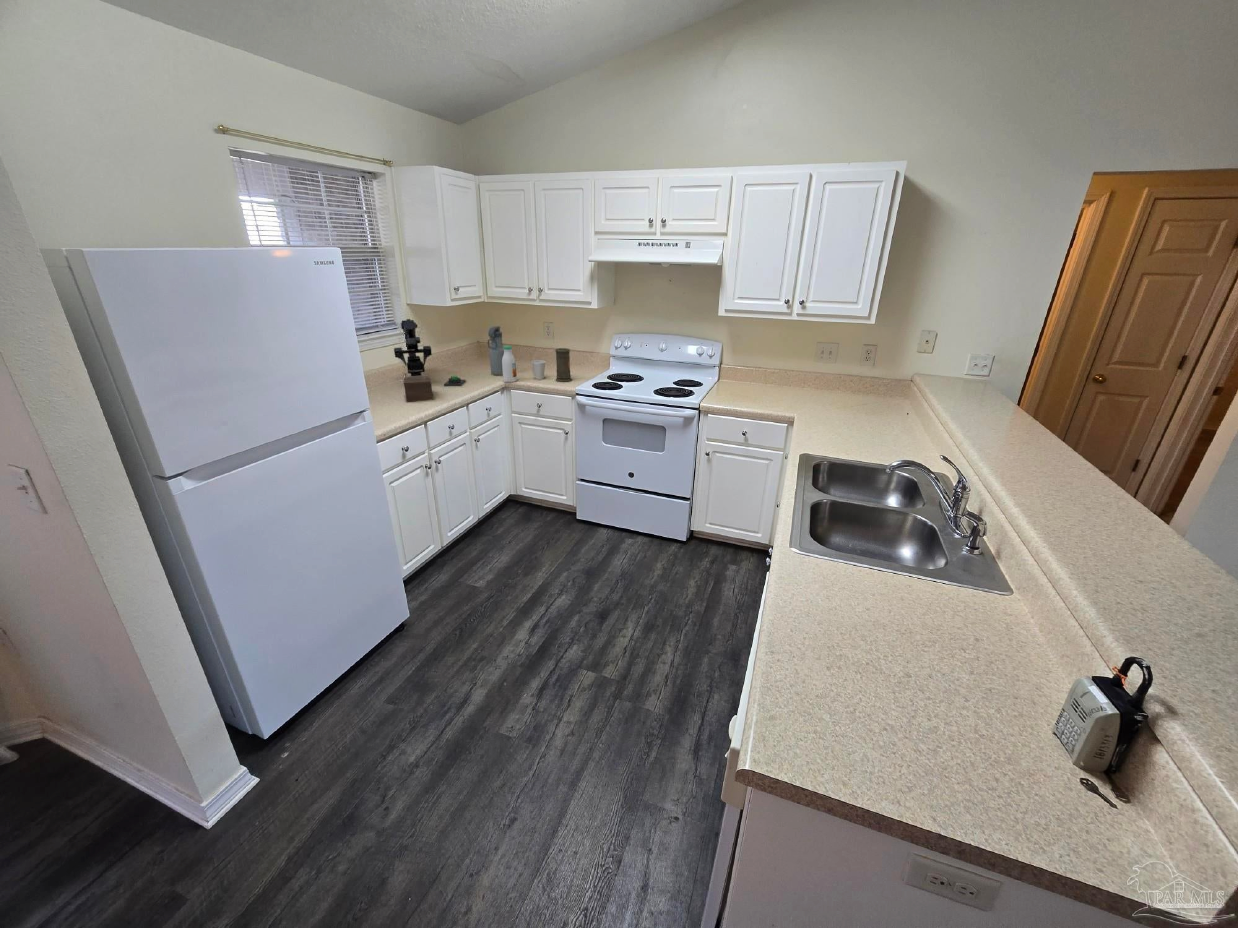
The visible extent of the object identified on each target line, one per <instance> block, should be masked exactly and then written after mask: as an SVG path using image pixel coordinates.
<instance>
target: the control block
mask: <svg viewBox="0 0 1238 928" xmlns="http://www.w3.org/2000/svg"><path fill="white" fill-rule="evenodd" d="M465 383H466V378H465V379H464V378H463V379H462V378H461V377H459V376H458V379H451V377H449V378H448V380H447V381H446V382H444V384H443V386H444V387H461V386H462V385H463V384H465Z"/></svg>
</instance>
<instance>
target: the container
mask: <svg viewBox="0 0 1238 928" xmlns="http://www.w3.org/2000/svg"><path fill="white" fill-rule="evenodd" d="M554 352H555V359H556V360H555V362H556V363H555V364H556V375H555V377H556V378H555V380H556V382H559V383H566V382H567V383H568V382H571V381H572V374H571V362H570V361H571V360H570V357H571V356H570V354H571V353H570V352H571V349H570V348H567V347H561V348H555V350H554Z"/></svg>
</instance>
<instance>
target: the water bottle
mask: <svg viewBox="0 0 1238 928" xmlns="http://www.w3.org/2000/svg"><path fill="white" fill-rule="evenodd" d="M487 336H488V337H489V339H487V348H489V350H488V353H489V365H490V374H491V375H493V376H503V370H502V358H503V355H504V348H503V347H504V345H503V332H502V331H501V326H499V325H497V326H495V325H494V326H492V327H489V329H488V332H487ZM490 344H491V345H490Z"/></svg>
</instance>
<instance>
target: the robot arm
mask: <svg viewBox="0 0 1238 928" xmlns="http://www.w3.org/2000/svg"><path fill="white" fill-rule="evenodd" d="M400 328H401V330H402V333H403V332H405V333H404V334H405V340H404V341H405V342H406V347H407V350H403V348H402V346H399V347H394V348H393V352H394V353H393V354H394V357H395V358H397V359H398V360H400V361H401V362H402V363H403V364H404V366H405V367H406V369H407V374H410V376H422V375H423V374H422V373H425V372H426V370H425V365H426V361H427V359H428V357H430V356H432V355H433V354H432V347H431V346H430V345H423V346H422V348H419V344H421V338H420V336H417V331H416V329H417V328H419V327H418V323H416V321H415V320H413V319H411V318H407V319H405V320H401V322H400ZM404 334H403V335H404ZM406 354H407V359H406V358H405V355H406ZM417 354H422V357H423V359H421V356H420V355H417ZM406 360H407V361H406Z"/></svg>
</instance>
